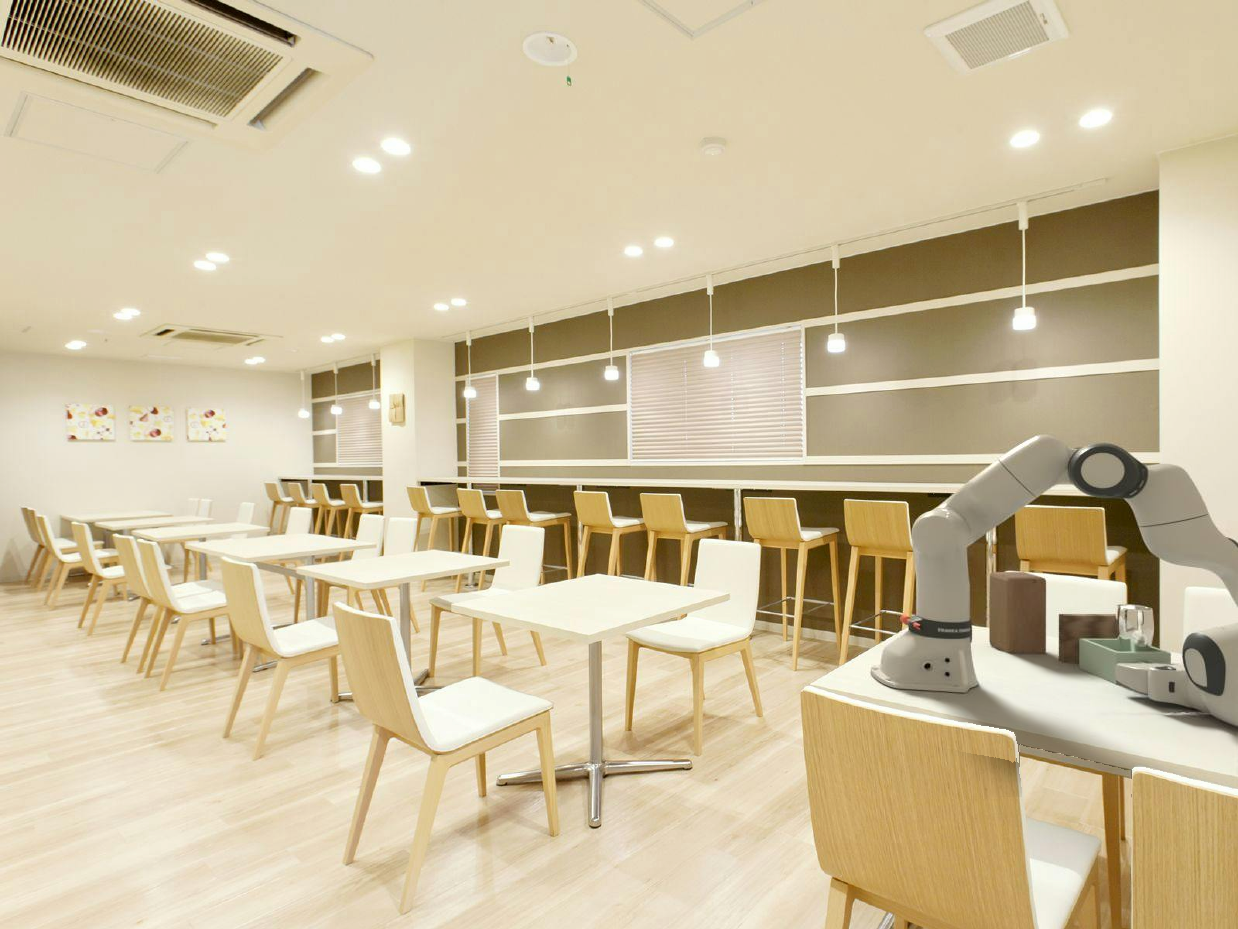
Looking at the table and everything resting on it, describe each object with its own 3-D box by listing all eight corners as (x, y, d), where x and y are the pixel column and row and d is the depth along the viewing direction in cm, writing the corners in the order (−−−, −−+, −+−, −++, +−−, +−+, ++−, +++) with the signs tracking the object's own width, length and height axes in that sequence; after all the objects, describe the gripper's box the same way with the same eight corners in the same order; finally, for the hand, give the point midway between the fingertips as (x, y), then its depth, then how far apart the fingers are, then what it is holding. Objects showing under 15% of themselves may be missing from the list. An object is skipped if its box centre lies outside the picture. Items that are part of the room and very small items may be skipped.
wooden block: (1047, 655, 172) (1048, 577, 172) (1008, 655, 172) (1008, 577, 172) (1024, 645, 182) (1024, 571, 182) (987, 645, 182) (987, 571, 182)
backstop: (1118, 690, 146) (1119, 635, 146) (1058, 662, 166) (1058, 614, 166) (1183, 690, 146) (1183, 635, 146) (1115, 662, 166) (1115, 614, 166)
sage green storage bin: (1116, 684, 148) (1116, 652, 148) (1079, 667, 160) (1079, 638, 160) (1170, 684, 148) (1170, 653, 148) (1129, 668, 160) (1129, 638, 160)
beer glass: (1161, 678, 150) (1161, 610, 150) (1127, 676, 151) (1127, 610, 150) (1141, 668, 157) (1141, 604, 157) (1108, 667, 157) (1108, 603, 157)
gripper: (1248, 670, 134) (1190, 650, 148) (1146, 669, 135) (1097, 650, 148) (1248, 701, 134) (1190, 679, 148) (1145, 701, 135) (1097, 678, 148)
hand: (1143, 664), depth 148 cm, fingers closed, pressing on sage green storage bin
